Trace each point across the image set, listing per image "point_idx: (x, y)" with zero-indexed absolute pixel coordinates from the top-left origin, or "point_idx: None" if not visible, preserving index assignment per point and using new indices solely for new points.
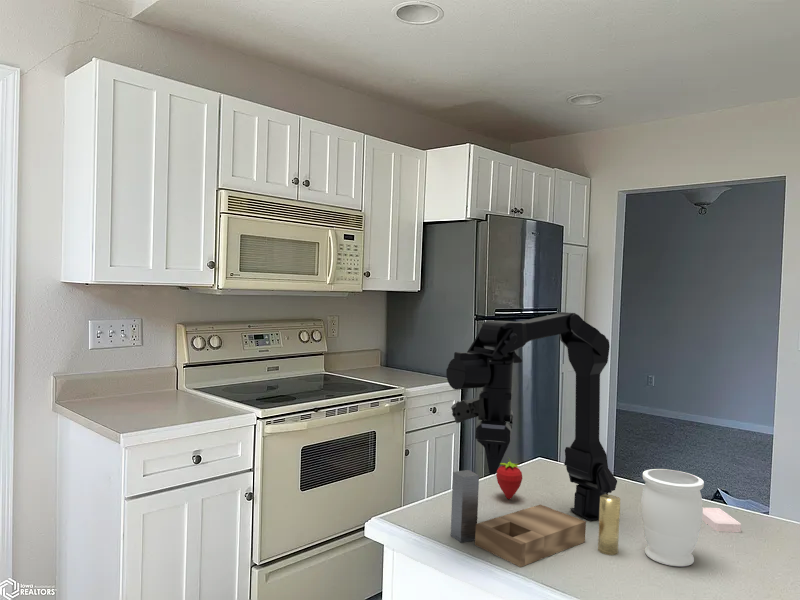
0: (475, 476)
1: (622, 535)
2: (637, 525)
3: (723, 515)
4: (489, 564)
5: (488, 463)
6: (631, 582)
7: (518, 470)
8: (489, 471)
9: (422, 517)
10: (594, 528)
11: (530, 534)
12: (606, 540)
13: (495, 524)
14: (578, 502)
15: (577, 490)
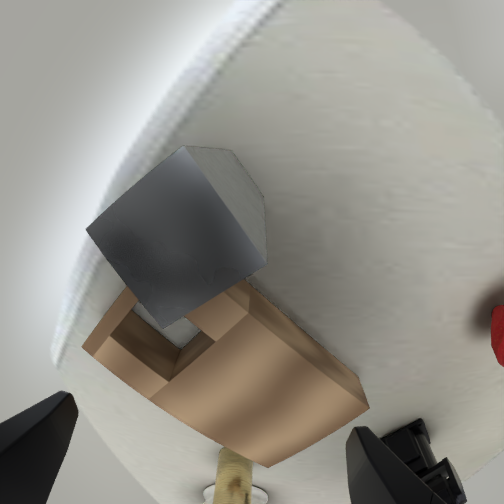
0: (145, 305)
1: (308, 472)
2: None
3: None
4: (91, 258)
5: (13, 419)
6: (132, 448)
7: None
8: (51, 396)
9: (358, 64)
10: (337, 449)
11: (143, 375)
12: (217, 469)
13: None
14: (400, 449)
15: (418, 461)
